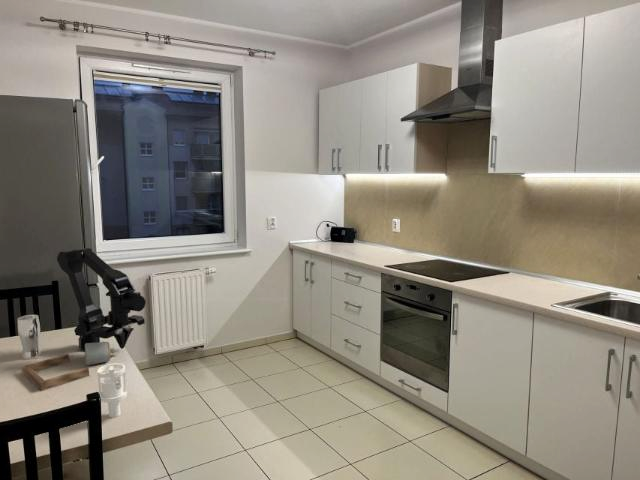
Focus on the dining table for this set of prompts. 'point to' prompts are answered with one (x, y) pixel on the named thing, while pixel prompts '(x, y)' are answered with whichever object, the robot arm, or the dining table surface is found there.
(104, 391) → the strainer
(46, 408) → the dining table surface
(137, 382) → the dining table surface
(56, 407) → the dining table surface
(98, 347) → the ceramic mug
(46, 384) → the walnut bay
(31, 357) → the beer glass
